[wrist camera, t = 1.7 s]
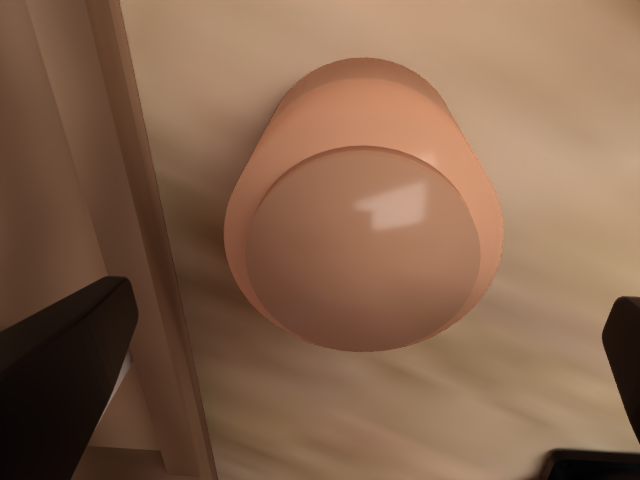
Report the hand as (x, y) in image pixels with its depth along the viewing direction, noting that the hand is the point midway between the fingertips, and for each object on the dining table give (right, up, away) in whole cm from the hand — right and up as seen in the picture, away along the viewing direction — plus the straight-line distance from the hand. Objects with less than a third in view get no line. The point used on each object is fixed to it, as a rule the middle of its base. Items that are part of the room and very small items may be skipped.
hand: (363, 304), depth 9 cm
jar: (0, +4, +6) cm, 7 cm away
